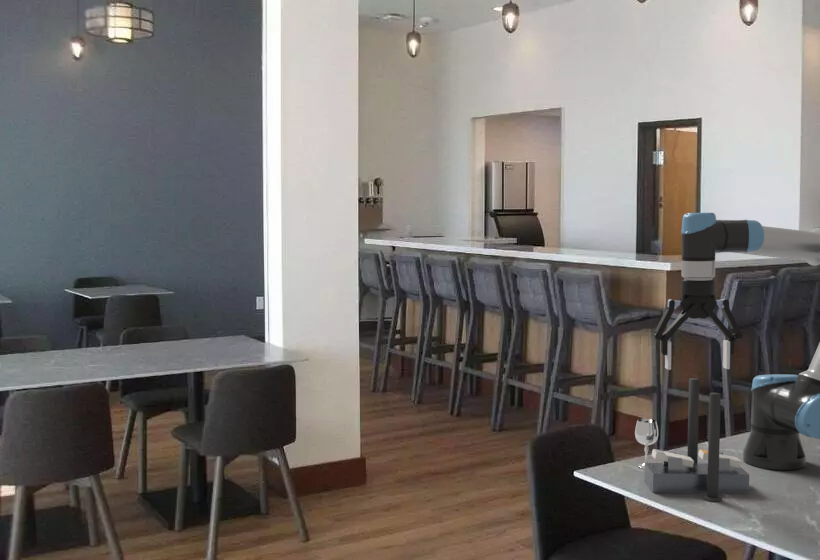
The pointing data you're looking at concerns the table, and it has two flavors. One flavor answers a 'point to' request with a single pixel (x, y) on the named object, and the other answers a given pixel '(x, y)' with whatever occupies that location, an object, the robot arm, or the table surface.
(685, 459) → the paddle
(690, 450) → the post far
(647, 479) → the panel
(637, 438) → the wineglass
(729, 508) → the table surface
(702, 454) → the paddle
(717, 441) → the post near
